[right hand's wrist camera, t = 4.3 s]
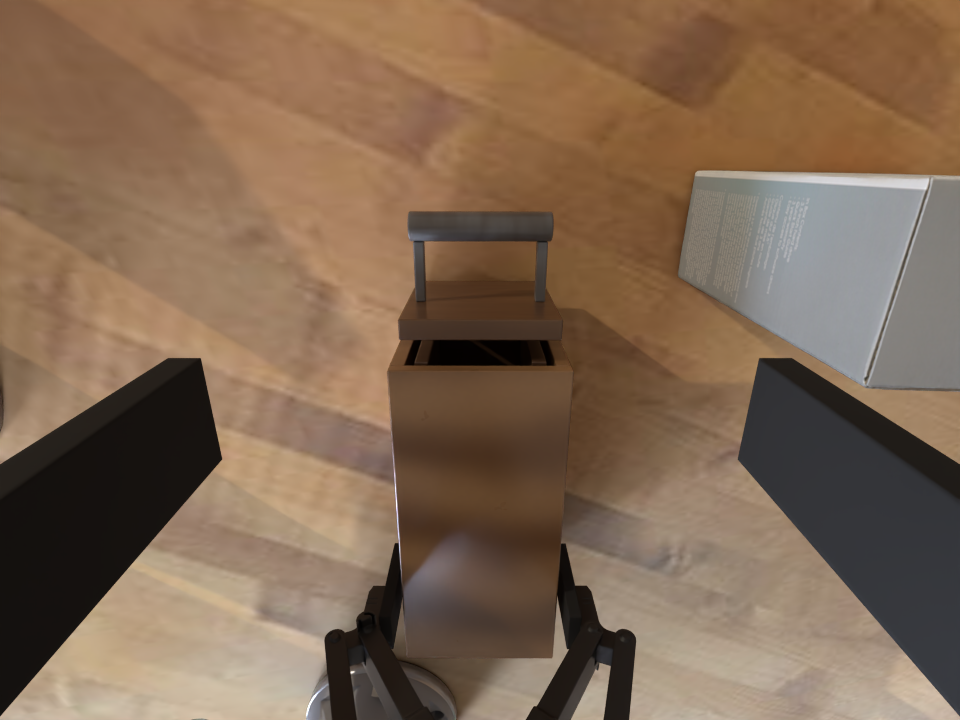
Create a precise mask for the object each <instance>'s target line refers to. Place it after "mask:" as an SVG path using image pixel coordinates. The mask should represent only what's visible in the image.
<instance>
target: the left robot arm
mask: <svg viewBox="0 0 960 720" xmlns="http://www.w3.org/2000/svg"><path fill="white" fill-rule="evenodd" d="M557 596H558V601H559V607H560V613H561V618H562V624H563V629H564V635H565V641H566V646H567V649H569V651H568V653H567V654H566V656H565V658H564V660H563V661H562V663H561V665H560V667H559V668H558V670H557V672H556V674H555V675H554V677H553V679H552V681H551V683H550V684H549V686H548V688H547V690H546V691H545V693H544V695H543V697H542V698H541V700H540V702H539V704H538V705H537V706H536V707H535V706H534V707H533V709H532V710H531V712H530V714H529V715H528V717H527V719H526V720H571V718H572V716H573V714H574V712H575V710H576V708H577V706H578V704H579V702H580V700H581V698H582V696H583V694H584V692H585V689H586V687H587V685H588V683H589V681H590V679H591V677H592V675H593V673H594V671H595V669H596V670H598V668H599V662H600V663H603V664H606V665H609V666H611V670H610V677H609V684H608V692H607V699H606V707H605V714H604V720H629V714H630V703H631V692H632V680H633V669H634V658H635V647H636V637H635V636H634V634H633V633H632V632H631V631H629V630H627V629H620V630H618V631H617V632H616V633H615V632H611V631H609V630H606V629H605V628H603V627H602V626H601V624H600V623H599V620H598V616H597V612H596V608H595V604H594V600H593V596H592V593H591V591H590V589H589V588H588V587H587V586H575V584H574V579H573V575H572V570H571V566H570V561H569V557H568V552H567V548H566V544H561V550H560V563H559V577H558V590H557ZM402 597H403V595H402V581H401V566H400V552H399V543H395V545H394V550H393V554H392V559H391V563H390V568H389V572H388V577H387V581H386V586H373V587H372V589H371V590H370V591H369V594H368V599H367V602H366V606H365V610H364V612H362V613H361V614H359V615H358V617H357V619H356V623H357V628H356V629H354V630H352V631H349V632H346V633H344V631H342V630H340V629H335V630H332V631H330V632H329V633H328V634H327V635H326V637H325V652H326V663H327V673H328V674H327V675H326V676H325V677H324V678H323V679H322V680H321V681H320V682H319V683H318V685H317V686H316V688H315V690H314V692H313V694H312V697H311V701H310V704H309V707H308V710H307V717H306V720H456V713H457V711H456V704H455V700H454V698H453V696H452V694H451V692H450V691H449V689H448V688H447V687H446V685H445V684H444V683H443V682H442V681H441V680H440V679H438V678H437V677H436V676H434V675H433V674H431V673H430V672H428V671H426V670H424V669H422V668H420V667H418V666H415V665H412V664H409V663H405V662H401V661H398V660H397V658H396V657H395V655H394V653H393V651H392V650H391V649H393V648H394V642H395V637H396V631H397V625H398V620H399V614H400V608H401V603H402ZM596 667H597V668H596ZM193 720H207V719H193Z"/></svg>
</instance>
